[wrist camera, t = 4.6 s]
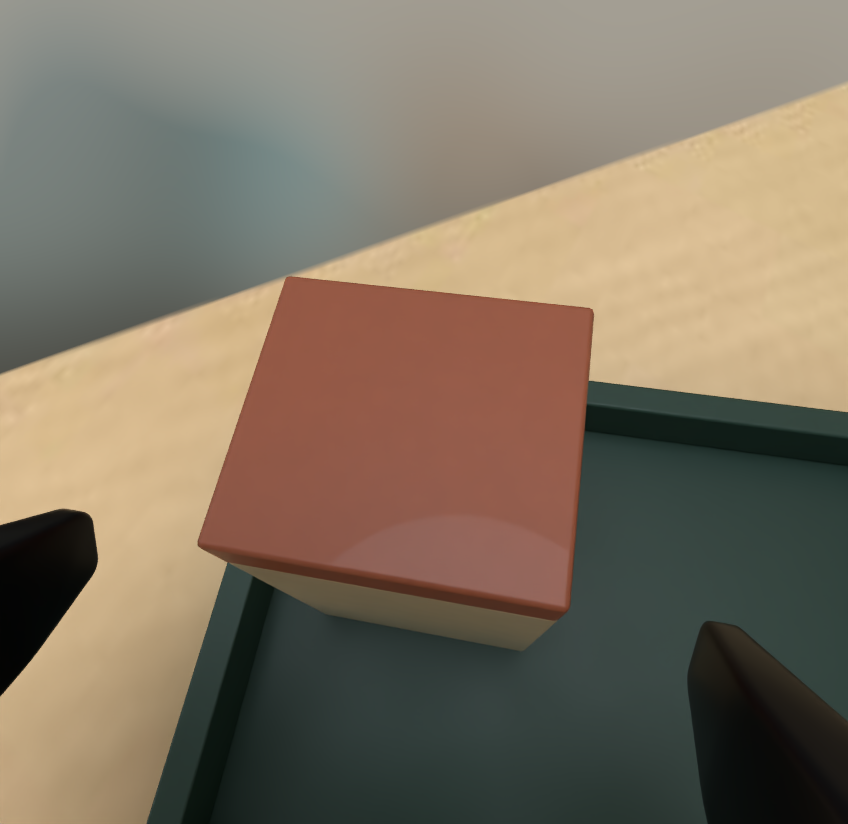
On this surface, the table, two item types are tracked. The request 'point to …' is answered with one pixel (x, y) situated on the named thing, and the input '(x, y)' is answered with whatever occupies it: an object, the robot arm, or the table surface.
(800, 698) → the robot arm
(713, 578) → the tray
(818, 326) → the table surface
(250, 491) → the carton
